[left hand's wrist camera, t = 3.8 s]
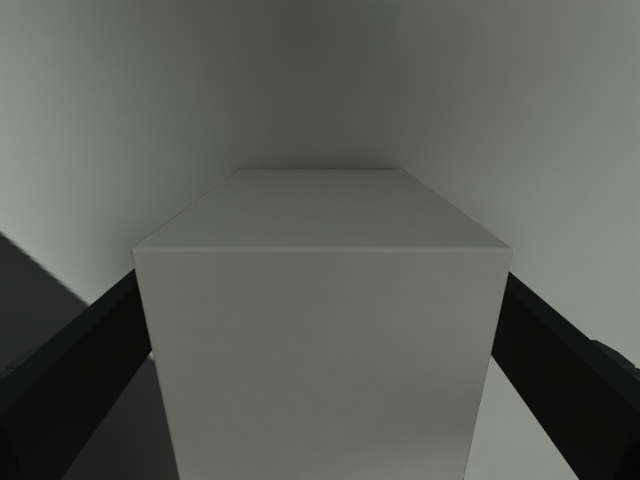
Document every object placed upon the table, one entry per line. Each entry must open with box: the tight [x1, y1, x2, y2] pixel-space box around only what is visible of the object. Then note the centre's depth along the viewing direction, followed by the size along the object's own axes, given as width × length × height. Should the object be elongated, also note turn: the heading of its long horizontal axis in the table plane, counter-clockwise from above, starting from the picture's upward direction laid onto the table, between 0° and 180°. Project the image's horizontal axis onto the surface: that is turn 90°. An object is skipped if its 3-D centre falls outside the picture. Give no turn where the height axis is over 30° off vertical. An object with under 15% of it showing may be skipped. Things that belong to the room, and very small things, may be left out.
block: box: [131, 169, 513, 480], centre depth 13 cm, size 8×8×10 cm
